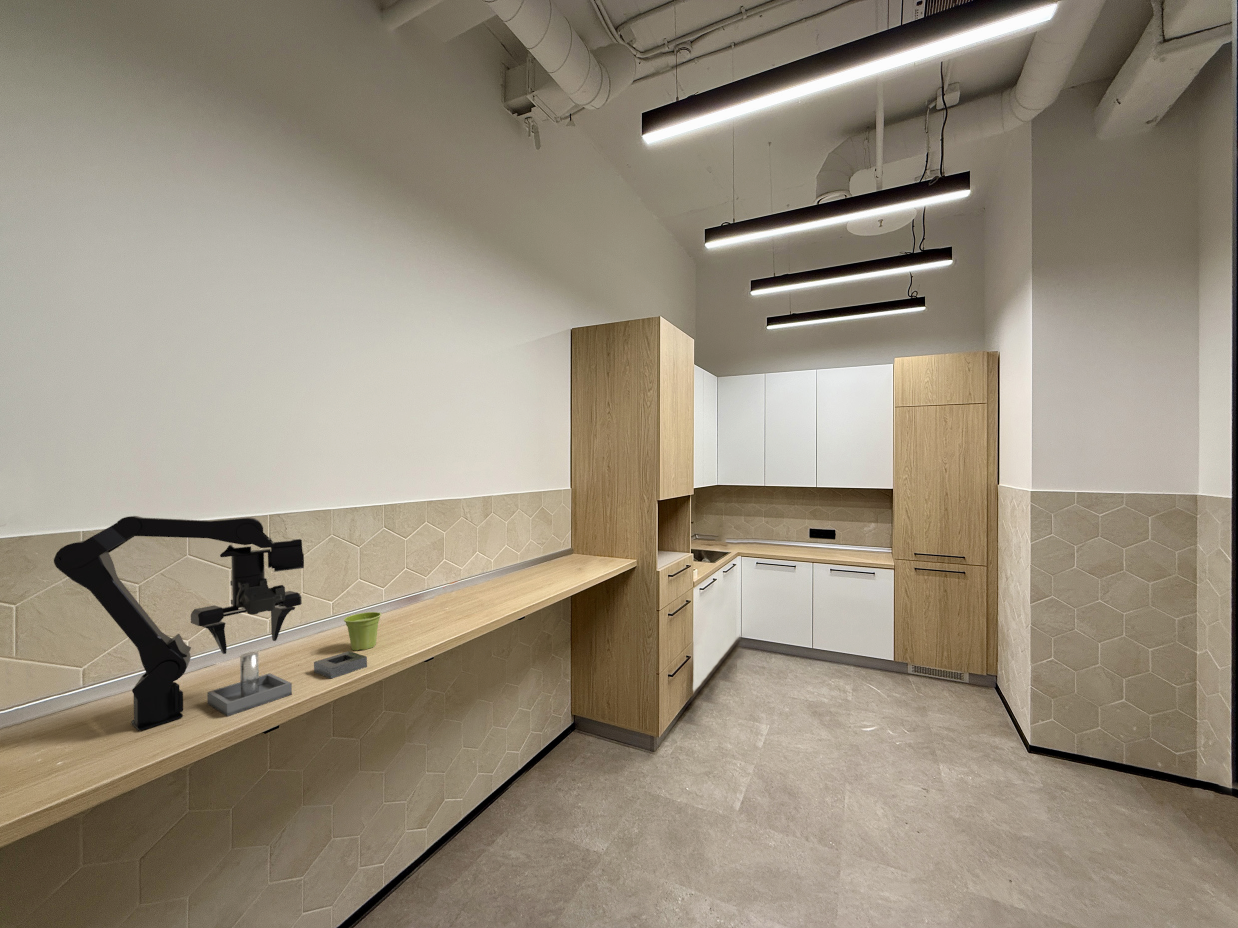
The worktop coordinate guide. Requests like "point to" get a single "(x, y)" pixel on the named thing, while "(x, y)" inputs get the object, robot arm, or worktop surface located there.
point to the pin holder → (340, 664)
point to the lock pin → (249, 674)
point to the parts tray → (232, 702)
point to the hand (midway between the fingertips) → (250, 646)
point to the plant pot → (363, 629)
